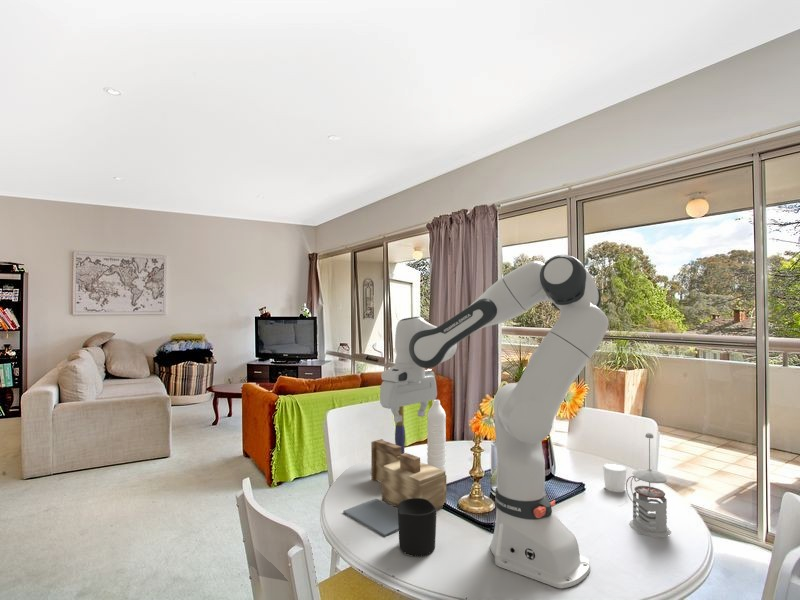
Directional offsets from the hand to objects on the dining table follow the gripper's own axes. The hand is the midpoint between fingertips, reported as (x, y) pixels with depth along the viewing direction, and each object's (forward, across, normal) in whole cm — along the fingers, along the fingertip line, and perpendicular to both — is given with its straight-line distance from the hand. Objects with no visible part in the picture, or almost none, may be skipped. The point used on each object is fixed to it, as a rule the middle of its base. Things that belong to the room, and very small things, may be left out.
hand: (409, 419), depth 134 cm
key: (+15, -5, -16) cm, 22 cm away
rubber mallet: (+25, -20, -26) cm, 41 cm away
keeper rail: (+25, -5, -16) cm, 30 cm away
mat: (+25, +12, 0) cm, 28 cm away
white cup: (+25, -56, +36) cm, 71 cm away
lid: (+16, -2, 0) cm, 16 cm away
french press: (+25, -37, +52) cm, 69 cm away
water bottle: (+25, -25, -14) cm, 38 cm away
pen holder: (+25, +15, +18) cm, 35 cm away
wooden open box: (+25, -2, 0) cm, 25 cm away
